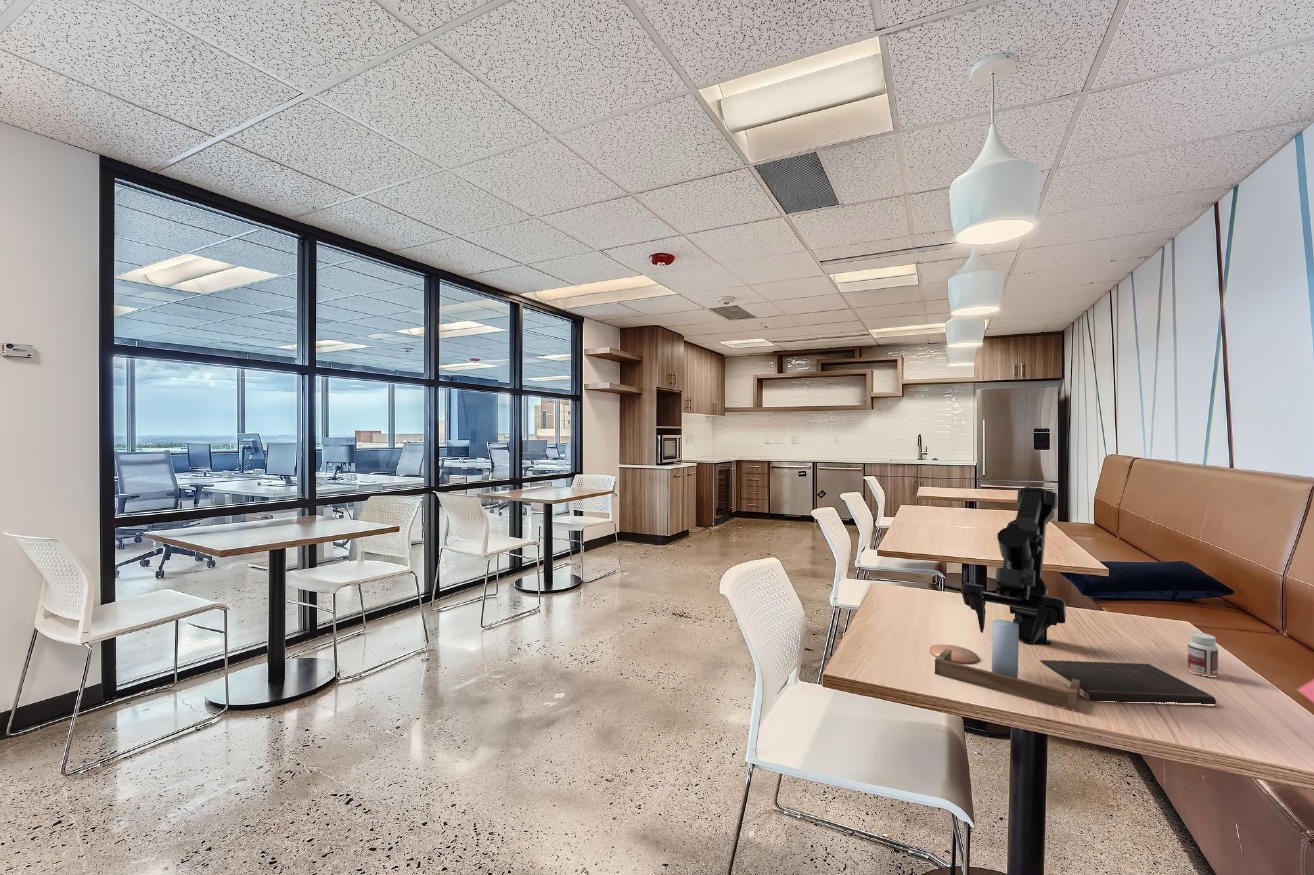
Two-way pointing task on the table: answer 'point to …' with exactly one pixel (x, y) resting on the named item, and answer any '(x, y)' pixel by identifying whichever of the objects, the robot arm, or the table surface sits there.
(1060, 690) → the walnut rack
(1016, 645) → the blue canister
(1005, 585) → the robot arm
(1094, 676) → the hardcover book
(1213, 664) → the pill bottle
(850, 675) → the table surface
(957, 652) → the terracotta coaster
